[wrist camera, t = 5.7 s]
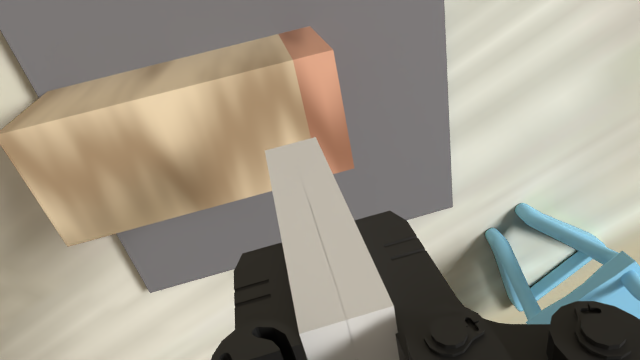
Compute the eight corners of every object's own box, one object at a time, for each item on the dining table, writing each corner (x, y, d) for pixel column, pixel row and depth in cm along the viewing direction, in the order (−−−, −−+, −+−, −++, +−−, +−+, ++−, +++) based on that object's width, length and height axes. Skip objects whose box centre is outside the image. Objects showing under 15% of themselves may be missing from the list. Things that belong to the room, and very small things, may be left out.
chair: (548, 177, 28) (739, 315, 17) (598, 241, 31) (779, 385, 21) (457, 253, 29) (580, 419, 19) (514, 304, 33) (643, 467, 23)
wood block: (354, 168, 18) (67, 246, 17) (329, 124, 22) (99, 185, 21) (333, 49, 15) (-6, 135, 14) (309, 26, 19) (47, 91, 19)
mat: (448, 201, 27) (452, 207, 26) (151, 285, 26) (150, 292, 25) (428, -213, 17) (434, -218, 16) (-68, -106, 15) (-79, -108, 15)
